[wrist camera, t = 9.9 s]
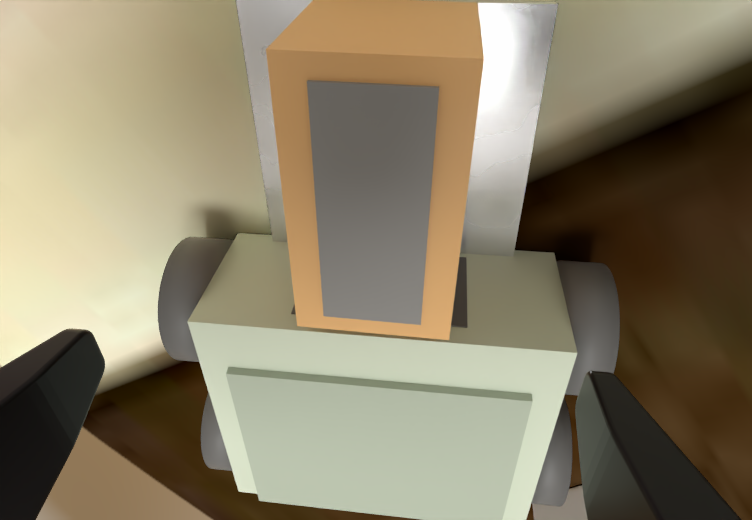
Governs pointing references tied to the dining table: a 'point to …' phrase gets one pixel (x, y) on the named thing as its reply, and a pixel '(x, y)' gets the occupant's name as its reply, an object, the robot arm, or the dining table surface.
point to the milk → (563, 508)
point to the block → (376, 159)
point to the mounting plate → (494, 117)
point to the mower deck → (391, 383)
